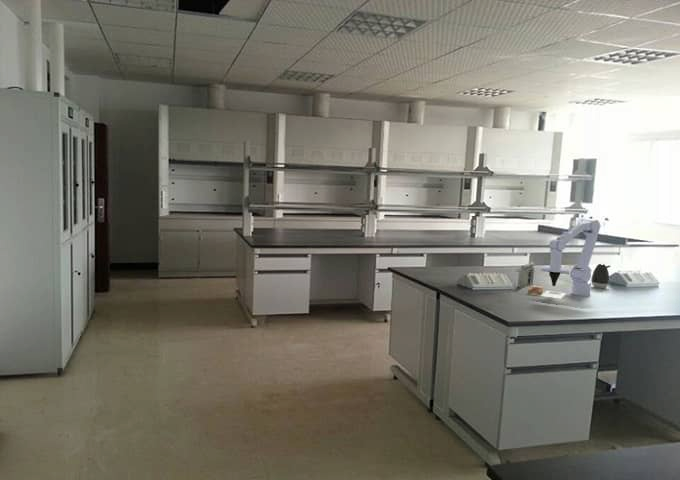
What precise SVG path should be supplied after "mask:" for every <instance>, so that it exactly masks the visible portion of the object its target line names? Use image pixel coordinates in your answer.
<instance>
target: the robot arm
mask: <svg viewBox="0 0 680 480" xmlns="http://www.w3.org/2000/svg"><path fill="white" fill-rule="evenodd" d="M600 229H601V224H600V221H599V220H598V219H591V218H590V219H589V218H580V220H578V221H577V224H575V226H574V227H572V228H571V229H570V230H569V231H563V232H562V234H560V235H558V236H557V237H556V238H553V239H552V240H550V242H549V244H548V247H549V252H550V257H549V258H550V260H549V267H540V272H543V273H544V272H545V273H548V274H549V277H550V280H551V286H552V287H556V286H557V282H558V279H559V277H560V275H561V274H564V275H570V278H571V280H572V288H571V294H573V295H576V296H583V297H589V296H591V286H592V282H590V281H591V278H592V269H591V267H590V262H591V258H592V256H593V252H594V249H595V246H596V243H597V241H598V235H599V233H600ZM580 233H583V234H584V235H585V240H584V244H583V247H582V249H581V253H580V256H579V260H578V263H576V264H574V265H573V267H572V269H571V270H568V269H562V259H563V250H565V249H566V247H567V245H568V244H569V243H570V242H572V241H573V239H574V237H575V236H577V235H578V234H580Z"/></svg>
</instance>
